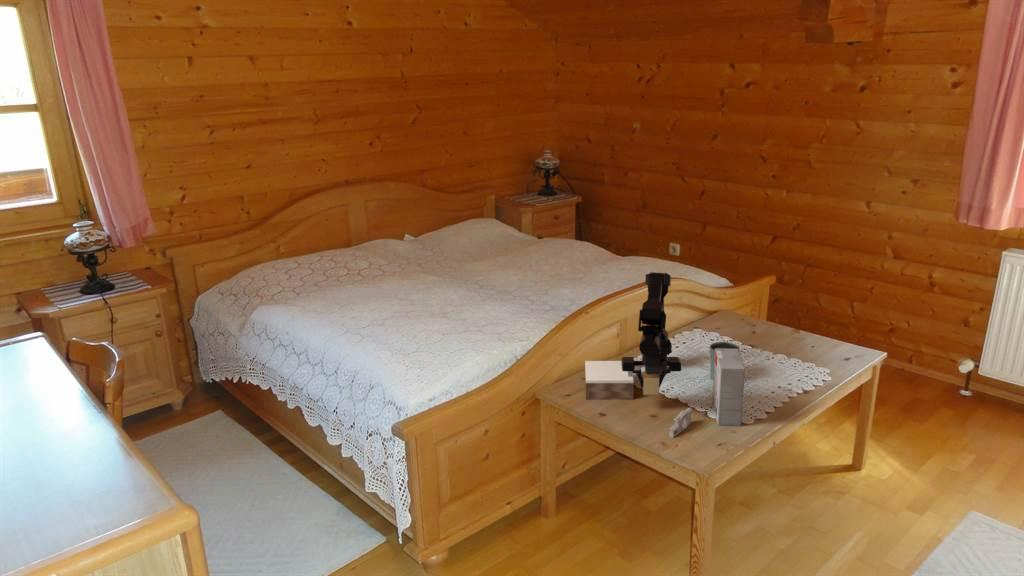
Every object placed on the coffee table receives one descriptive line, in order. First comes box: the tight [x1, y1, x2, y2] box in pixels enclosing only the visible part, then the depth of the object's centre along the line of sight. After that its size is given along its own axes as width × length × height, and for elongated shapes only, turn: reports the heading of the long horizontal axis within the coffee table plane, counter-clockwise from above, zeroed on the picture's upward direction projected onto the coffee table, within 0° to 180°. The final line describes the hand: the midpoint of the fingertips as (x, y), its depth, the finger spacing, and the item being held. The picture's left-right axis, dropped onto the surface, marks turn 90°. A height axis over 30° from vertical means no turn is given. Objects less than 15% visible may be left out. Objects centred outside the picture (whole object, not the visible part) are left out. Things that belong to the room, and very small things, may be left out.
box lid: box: [584, 360, 634, 384], centre depth 248 cm, size 16×16×3 cm
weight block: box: [641, 370, 660, 396], centre depth 233 cm, size 5×5×6 cm
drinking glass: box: [709, 341, 740, 381], centre depth 253 cm, size 10×10×12 cm
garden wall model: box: [668, 407, 693, 438], centre depth 221 cm, size 12×2×6 cm, turn 139°
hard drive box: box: [712, 348, 746, 427], centre depth 227 cm, size 16×8×20 cm, turn 171°
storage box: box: [584, 374, 634, 401], centre depth 249 cm, size 16×16×6 cm
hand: (650, 387), depth 233 cm, fingers closed on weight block, 5 cm apart
